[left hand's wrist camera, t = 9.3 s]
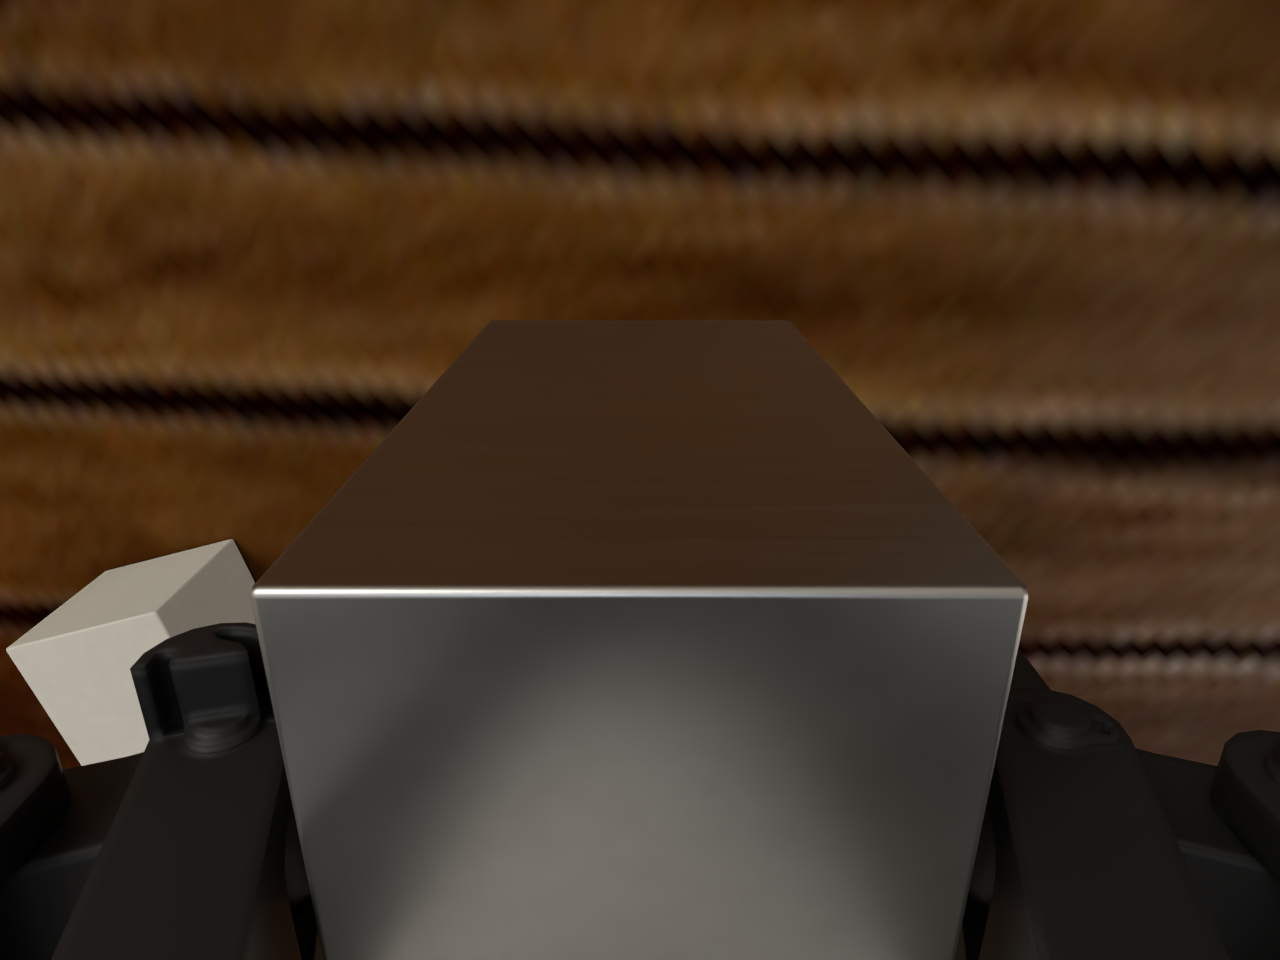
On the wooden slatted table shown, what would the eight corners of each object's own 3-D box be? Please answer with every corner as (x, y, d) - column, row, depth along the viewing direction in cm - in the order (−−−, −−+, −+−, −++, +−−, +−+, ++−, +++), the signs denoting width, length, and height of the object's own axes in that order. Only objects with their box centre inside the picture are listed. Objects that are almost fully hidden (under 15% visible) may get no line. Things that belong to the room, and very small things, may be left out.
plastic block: (233, 537, 29) (155, 611, 24) (291, 654, 30) (229, 744, 26) (104, 570, 29) (3, 649, 24) (170, 683, 31) (87, 776, 26)
